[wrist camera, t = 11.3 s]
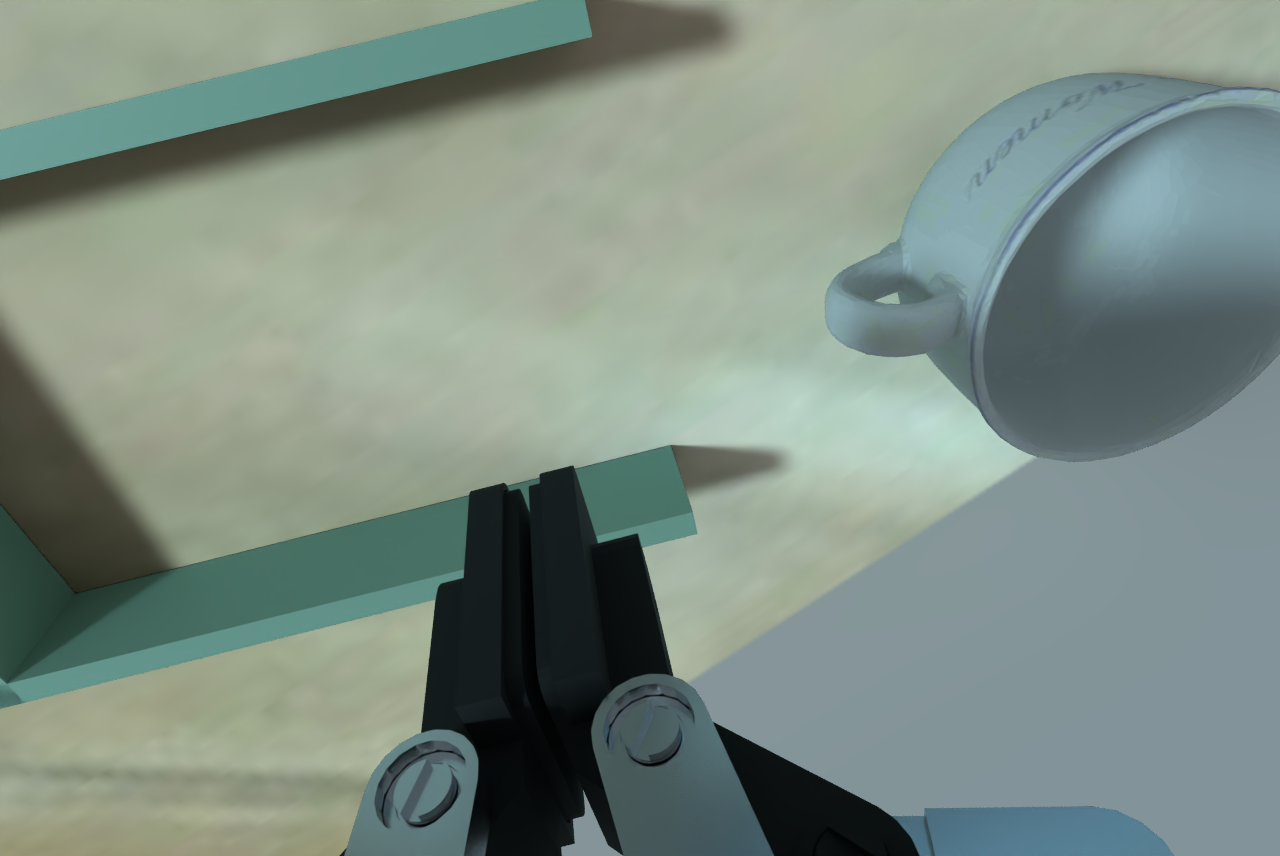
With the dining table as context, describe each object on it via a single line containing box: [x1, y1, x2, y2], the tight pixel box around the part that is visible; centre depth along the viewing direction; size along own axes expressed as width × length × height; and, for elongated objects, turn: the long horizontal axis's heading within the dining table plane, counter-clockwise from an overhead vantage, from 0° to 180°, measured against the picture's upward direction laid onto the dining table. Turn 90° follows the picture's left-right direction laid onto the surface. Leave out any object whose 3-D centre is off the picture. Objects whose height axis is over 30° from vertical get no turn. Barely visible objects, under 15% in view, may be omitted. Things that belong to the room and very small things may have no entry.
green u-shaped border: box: [0, 0, 697, 709], centre depth 23 cm, size 17×26×4 cm, turn 102°
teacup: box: [825, 73, 1280, 462], centre depth 23 cm, size 14×11×8 cm
